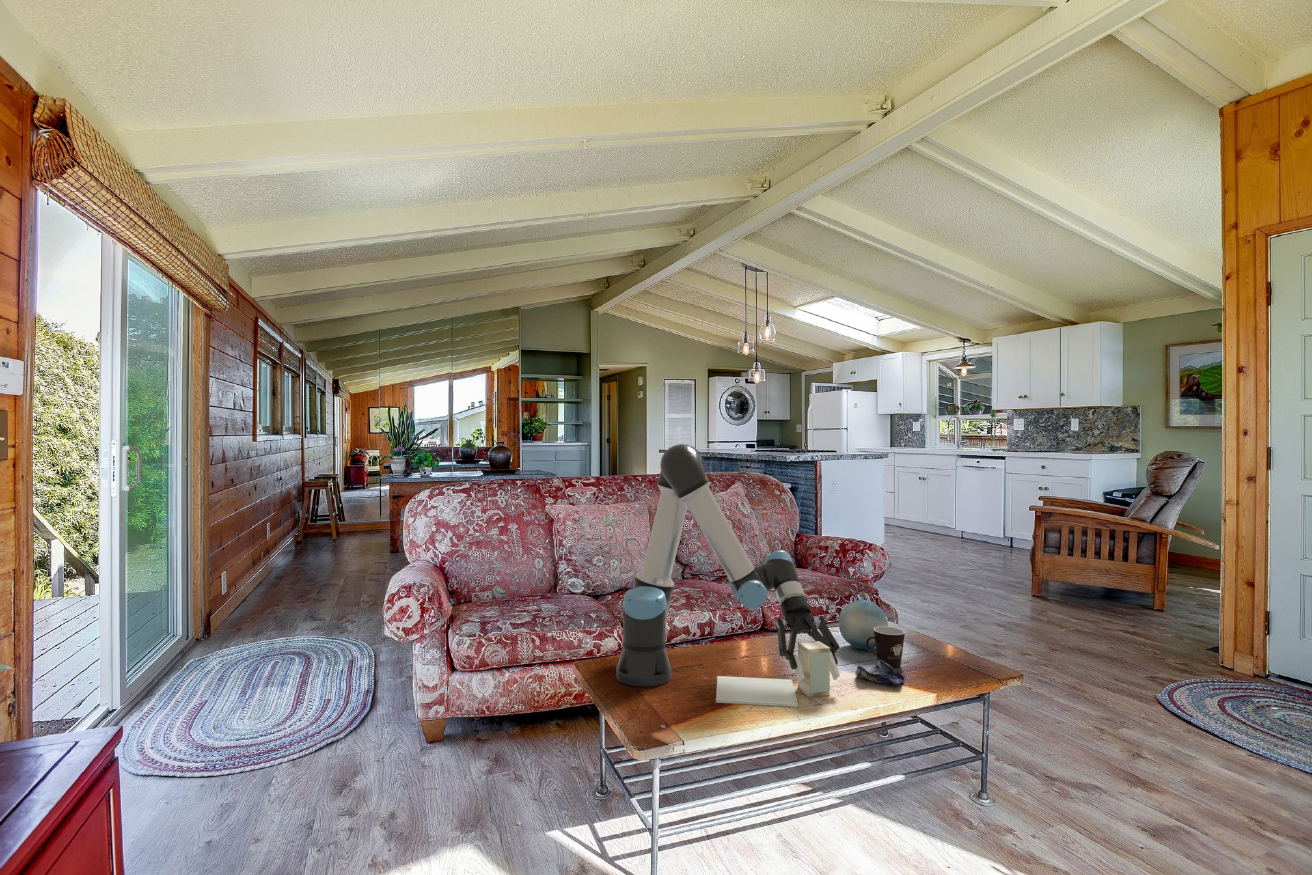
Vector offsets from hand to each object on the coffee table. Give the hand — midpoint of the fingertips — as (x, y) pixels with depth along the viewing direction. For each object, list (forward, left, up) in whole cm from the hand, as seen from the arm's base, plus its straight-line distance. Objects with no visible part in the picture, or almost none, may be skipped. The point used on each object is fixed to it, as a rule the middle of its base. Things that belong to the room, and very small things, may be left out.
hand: (819, 678), depth 168 cm
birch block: (-1, +3, -4) cm, 5 cm away
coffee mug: (+22, +27, -4) cm, 35 cm away
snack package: (+18, +13, -5) cm, 23 cm away
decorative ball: (+19, +42, -4) cm, 46 cm away
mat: (-16, +1, -4) cm, 17 cm away
